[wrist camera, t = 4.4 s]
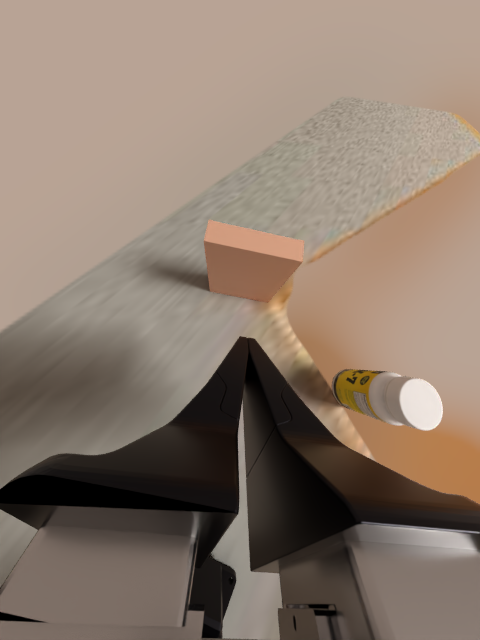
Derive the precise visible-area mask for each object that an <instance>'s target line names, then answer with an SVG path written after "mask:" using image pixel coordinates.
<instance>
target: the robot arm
mask: <svg viewBox="0 0 480 640" xmlns="http://www.w3.org/2000/svg"><path fill="white" fill-rule="evenodd" d="M242 398H243V419H244V441H245V462H246V478H247V479H246V485H247V507H248V529H249V550H250V569H251V571H252V572H268V573H279V575H280V585H281V595H282V606H283V608H278V621H279V633H280V640H480V504H478V503H476V502H474V501H472V500H470V499H468V498H467V497H464V496H461V495H453V494H446V493H441V492H438V491H435V490H432V489H430V488H427V487H425V486H423V485H421V484H419V483H417V482H414V481H412V480H410V479H408V478H406V477H404V476H403V475H401V474H398V473H397V472H395V471H393V470H391V469H389V468H387V467H385V466H383V465H381V464H379V463H377V462H375V461H373V460H371V459H369V458H367V457H365V456H364V455H362V454H360V453H358V452H356V451H354V450H352V449H350V448H348V447H347V446H345V445H344V444H342V443H341V442H340V441H339V440H338V439H336V438H335V437H334V436H333V435H332V434H331V433H330V431H329V430H328V429H327V428H326V427H325V426H324V425H323V424H322V423H321V421H320V420H319V419H318V418H317V417H316V416H315V415H314V414H313V413H312V411H311V410H310V409H309V408H308V407H307V406H306V405H305V404H304V402H303V401H302V400H301V399H300V398H299V396H298V395H297V394H296V393H295V391H294V390H293V389H292V388H291V386H290V385H289V384H288V383H287V381H286V380H285V378H284V377H283V376H282V374H281V373H280V372H279V370H278V369H277V368H276V366H275V365H274V364H273V362H272V361H271V360H270V358H269V357H268V356H267V354H266V353H265V352H264V350H263V349H262V348H261V346H260V345H259V344H258V342H257V341H256V340H255V339H253V338H247V337H242V336H240V337H239V338H238V340H237V341H236V343H235V344H234V346H233V347H232V349H231V350H230V351H229V353H228V354H227V356H226V357H225V359H224V360H223V361H222V363H221V364H220V366H219V367H218V369H217V370H216V372H215V373H214V374H213V376H212V377H211V378H210V380H209V381H208V382H207V384H206V385H205V386H204V387H203V388H202V390H201V391H200V392H199V393H198V394H197V395H196V396H195V397H194V398H193V399H192V400H191V401H190V402H189V404H188V405H187V406H186V407H185V408H184V409H183V410H182V411H181V412H180V413H179V414H178V415H177V416H176V417H175V418H174V419H173V420H172V421H170V422H169V423H168V424H166V425H165V426H163V427H161V428H159V429H157V430H155V431H153V432H151V433H150V434H148V435H146V436H144V437H142V438H140V439H138V440H136V441H134V442H132V443H130V444H128V445H126V446H124V447H122V448H120V449H118V450H116V451H113V452H110V453H106V454H101V455H80V454H67V453H66V454H58V455H54V456H51V457H49V458H47V459H45V460H43V461H42V462H40V463H38V464H36V465H35V466H33V467H31V468H29V469H28V470H26V471H24V472H23V473H21V474H20V475H18V476H17V477H15V478H14V479H13V480H11V481H10V482H9V483H7V484H6V485H5V486H4V487H3V488H1V489H0V509H1V510H3V511H5V512H6V513H8V514H10V515H12V516H14V517H16V518H17V519H19V520H21V521H23V522H25V523H27V524H28V525H30V526H32V527H34V528H36V529H37V530H38V531H37V533H36V534H35V536H34V537H33V539H32V540H31V542H30V543H29V545H28V546H27V548H26V550H25V551H24V553H23V554H22V556H21V557H20V559H19V560H18V562H17V563H16V565H15V566H14V568H13V569H12V571H11V572H10V574H9V575H8V577H7V578H6V580H5V581H4V583H3V584H2V586H1V588H0V640H256V639H222V627H223V619H224V616H225V613H226V610H227V607H228V604H229V601H230V598H231V596H232V593H233V590H234V587H235V584H236V573H235V571H234V570H233V569H231V568H229V567H227V566H225V565H223V564H221V563H219V562H217V561H215V560H213V559H211V558H209V557H208V556H209V555H210V553H211V552H212V551H213V549H214V548H215V546H216V545H217V543H218V542H219V540H220V539H221V538H222V536H223V535H224V533H225V532H226V530H227V529H228V528H229V526H230V525H231V523H232V522H233V520H234V519H235V517H236V516H237V515H238V512H239V469H238V427H239V419H240V412H241V405H242ZM230 577H232V579H229V578H230Z"/></svg>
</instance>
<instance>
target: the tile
mask: <svg viewBox="0 0 480 640" xmlns="http://www.w3.org/2000/svg"><path fill="white" fill-rule="evenodd" d="M204 246H205V254H206V263H207V271H208V279H209V287H210V292H215V293H221V294H226V295H231V296H236V297H242V298H247V299H252V300H258V301H263V302H269V301H270V300H271V299H272V298H273V296H274V295H275V294H276V293H277V292H278V290H279V289H280V288H281V287H282V286H283V285H284V283H285V282H286V281H287V280H288V279H289V277H290V276H291V275H292V274H293V273H294V272H295V270H296V269H297V268H298V267H299V266H300V264H301V263H302V262H303V251H304V241H302V240H299V239H295V238H290V237H286V236H281V235H277V234H272V233H268V232H263V231H259V230H254V229H250V228H245V227H241V226H236V225H232V224H227V223H223V222H218V221H214V220H213V221H212V220H209V221H208V226H207V230H206V234H205V238H204Z"/></svg>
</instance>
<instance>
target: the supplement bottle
mask: <svg viewBox="0 0 480 640" xmlns="http://www.w3.org/2000/svg"><path fill="white" fill-rule="evenodd" d="M332 392H333V395H334V397H335V398H336V400H337V401H338V402H339V403H340V404H341V405H342V406H344V407H346V408H348V409H351V410H353V411H356V412H359V413H362V414H364V415H367V416H370V417H372V418H375V419H378V420H381V421H383V422H386V423H389V424H392V425H407V426H410V427H413V428H416V429H419V430H431V429H434V428H435V427H436V426H437V425H438V424H439V423H440V421H441V419H442V413H443V408H442V402H441V399H440V396H439V395H438V393H437V391H436V390H435V388H434V387H433V386H432V385H431V384H429V383H428V382H426V381H424V380H422V379H419V378H411V377H406V376H401V375H399V374H396V373H392V372H385V371H368V370H353V369H345V370H342V371H340V372H338V373H337V374H336V376H335V377H334V378H333V381H332Z"/></svg>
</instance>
